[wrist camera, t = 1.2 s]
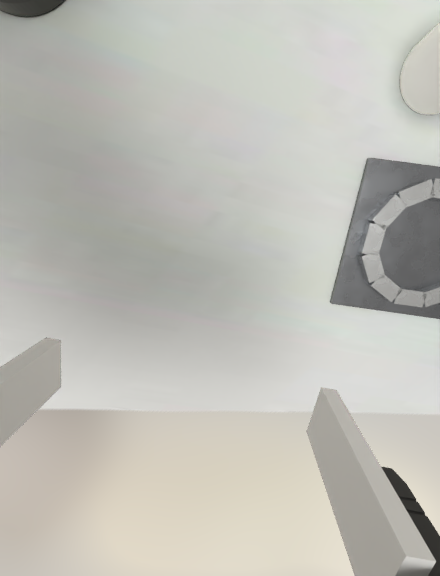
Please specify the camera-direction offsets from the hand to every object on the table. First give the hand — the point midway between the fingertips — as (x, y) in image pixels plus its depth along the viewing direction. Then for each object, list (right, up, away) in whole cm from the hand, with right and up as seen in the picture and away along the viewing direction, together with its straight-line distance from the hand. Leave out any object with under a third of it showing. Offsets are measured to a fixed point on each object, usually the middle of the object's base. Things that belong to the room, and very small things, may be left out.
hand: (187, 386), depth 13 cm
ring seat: (+27, +10, +20) cm, 35 cm away
